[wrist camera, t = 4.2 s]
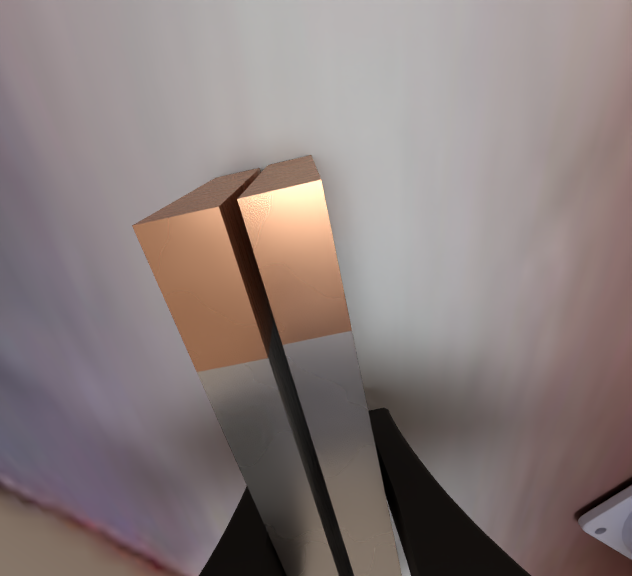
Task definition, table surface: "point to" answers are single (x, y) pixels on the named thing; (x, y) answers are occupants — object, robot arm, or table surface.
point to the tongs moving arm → (244, 367)
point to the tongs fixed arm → (321, 351)
